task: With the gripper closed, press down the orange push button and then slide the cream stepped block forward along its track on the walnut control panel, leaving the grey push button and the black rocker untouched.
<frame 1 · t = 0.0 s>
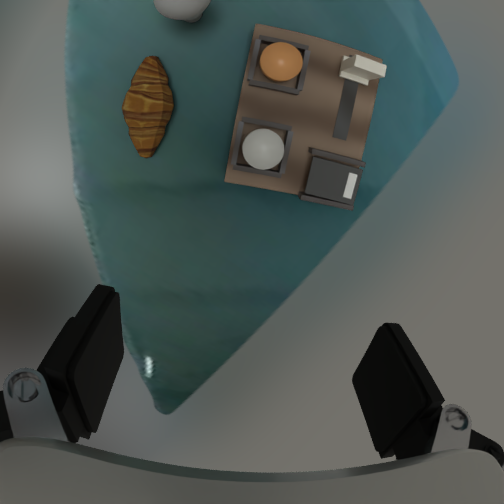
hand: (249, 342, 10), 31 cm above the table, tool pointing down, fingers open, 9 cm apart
grey button: (262, 148, 32), point 6 cm above the table, slide at 0.0 cm
rocker: (333, 180, 34), point 5 cm above the table, hinge at 10.0°
orange button: (280, 62, 28), point 6 cm above the table, slide at 0.0 cm
croissant: (152, 106, 34), on the table
cream stepped block: (362, 68, 28), point 6 cm above the table, slide at 0.0 cm
panel: (302, 113, 35), on the table
lightbulb: (193, 16, 29), on the table
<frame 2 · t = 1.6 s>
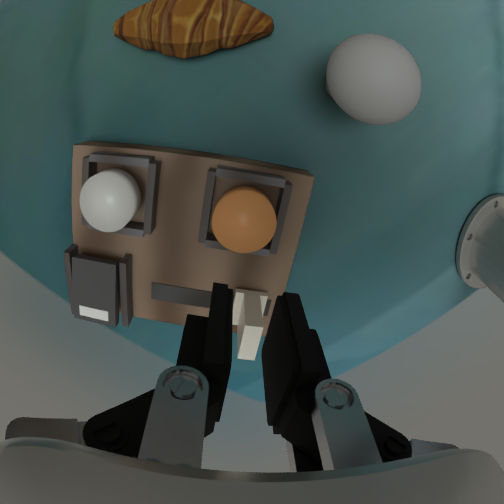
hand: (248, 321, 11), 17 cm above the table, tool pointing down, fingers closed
grey button: (109, 199, 20), point 6 cm above the table, slide at 0.0 cm
rocker: (95, 291, 25), point 5 cm above the table, hinge at 10.0°
orange button: (244, 219, 22), point 6 cm above the table, slide at 0.0 cm
croissant: (192, 28, 20), on the table
cream stepped block: (248, 324, 25), point 6 cm above the table, slide at 0.0 cm
panel: (181, 236, 28), on the table
lightbulb: (336, 87, 23), on the table
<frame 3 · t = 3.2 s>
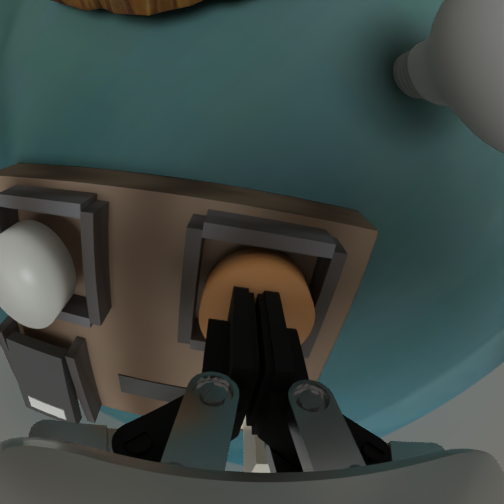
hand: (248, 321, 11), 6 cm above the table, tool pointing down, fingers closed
grey button: (27, 275, 10), point 6 cm above the table, slide at 0.0 cm
rocker: (43, 382, 15), point 5 cm above the table, hinge at 10.0°
orange button: (256, 307, 12), point 5 cm above the table, slide at 0.8 cm, touching gripper
cream stepped block: (260, 440, 15), point 6 cm above the table, slide at 0.0 cm
panel: (158, 306, 18), on the table
lightbulb: (404, 76, 13), on the table
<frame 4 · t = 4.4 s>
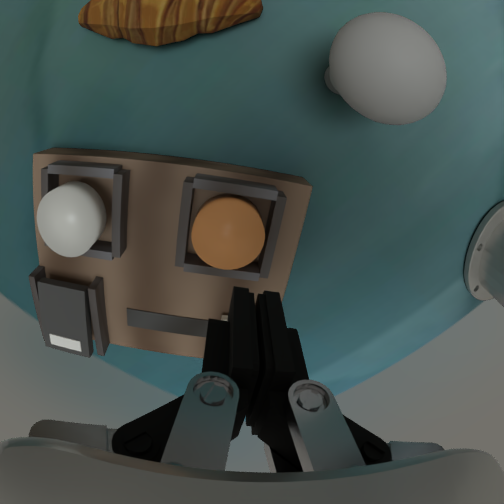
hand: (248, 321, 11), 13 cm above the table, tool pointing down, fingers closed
grey button: (70, 218, 16), point 6 cm above the table, slide at 0.0 cm
rocker: (64, 318, 20), point 5 cm above the table, hinge at 10.0°
orange button: (228, 231, 19), point 4 cm above the table, slide at 1.4 cm
croissant: (168, 13, 16), on the table
cream stepped block: (237, 355, 22), point 6 cm above the table, slide at 0.0 cm
panel: (159, 254, 24), on the table
lightbulb: (336, 79, 19), on the table
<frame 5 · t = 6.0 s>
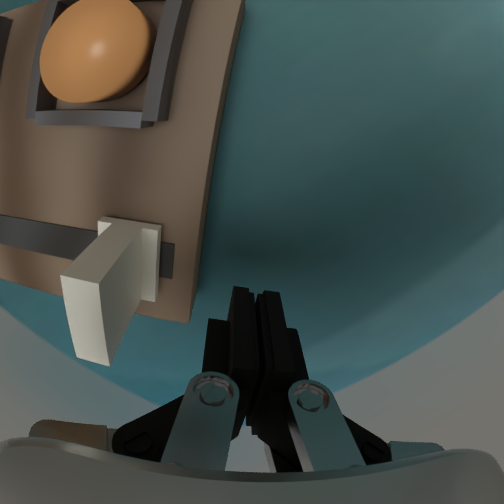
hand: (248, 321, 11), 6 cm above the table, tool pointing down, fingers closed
orange button: (96, 48, 8), point 4 cm above the table, slide at 1.4 cm
cream stepped block: (110, 286, 11), point 6 cm above the table, slide at 0.0 cm
panel: (48, 142, 14), on the table
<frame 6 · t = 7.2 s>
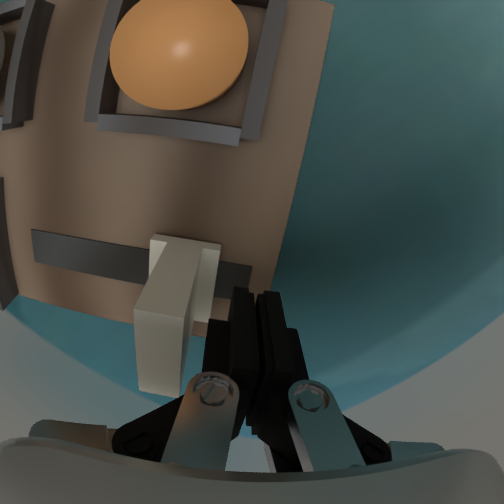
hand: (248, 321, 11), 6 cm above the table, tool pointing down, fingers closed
orange button: (181, 48, 8), point 4 cm above the table, slide at 1.4 cm
cream stepped block: (172, 311, 11), point 6 cm above the table, slide at 0.9 cm, touching gripper
panel: (91, 148, 13), on the table
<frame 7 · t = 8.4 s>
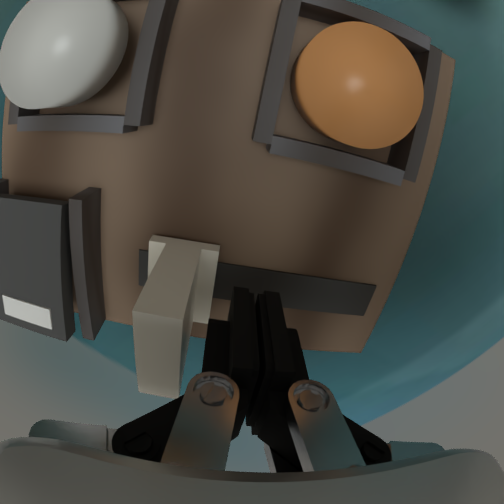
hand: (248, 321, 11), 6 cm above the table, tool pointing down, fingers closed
grey button: (59, 45, 6), point 6 cm above the table, slide at 0.0 cm
rocker: (27, 266, 11), point 5 cm above the table, hinge at 10.0°
orange button: (357, 85, 9), point 4 cm above the table, slide at 1.4 cm
cream stepped block: (171, 312, 11), point 6 cm above the table, slide at 7.0 cm, touching gripper
panel: (203, 161, 14), on the table
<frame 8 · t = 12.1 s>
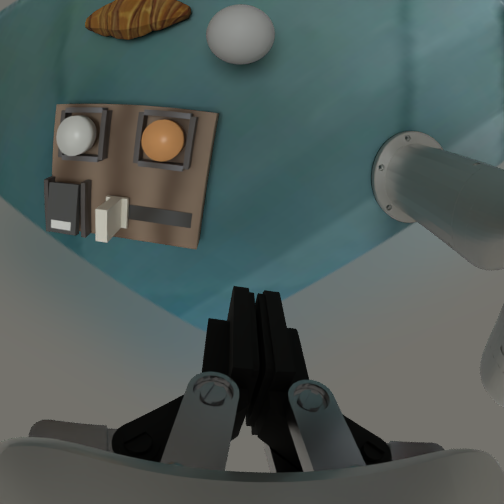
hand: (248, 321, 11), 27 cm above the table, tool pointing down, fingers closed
grey button: (76, 135, 27), point 6 cm above the table, slide at 0.0 cm
rocker: (63, 208, 31), point 5 cm above the table, hinge at 10.0°
orange button: (163, 139, 29), point 4 cm above the table, slide at 1.4 cm
croissant: (138, 19, 27), on the table
cream stepped block: (109, 218, 31), point 6 cm above the table, slide at 7.1 cm
panel: (129, 168, 35), on the table
lightbulb: (240, 51, 29), on the table
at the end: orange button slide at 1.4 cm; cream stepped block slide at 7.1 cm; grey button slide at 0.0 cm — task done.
